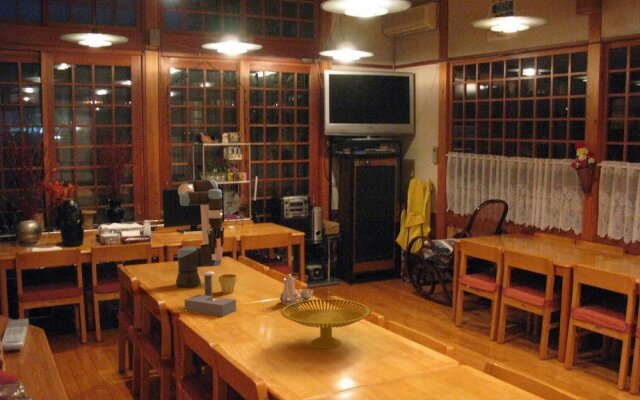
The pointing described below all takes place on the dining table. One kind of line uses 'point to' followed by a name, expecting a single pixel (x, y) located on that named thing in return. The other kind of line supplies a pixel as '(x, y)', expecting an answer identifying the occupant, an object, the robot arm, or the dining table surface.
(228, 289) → the plant pot
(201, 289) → the dining table surface
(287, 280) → the chinaware
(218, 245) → the tab
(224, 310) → the notched board
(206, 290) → the bobbin
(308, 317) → the pedestal fruit bowl
